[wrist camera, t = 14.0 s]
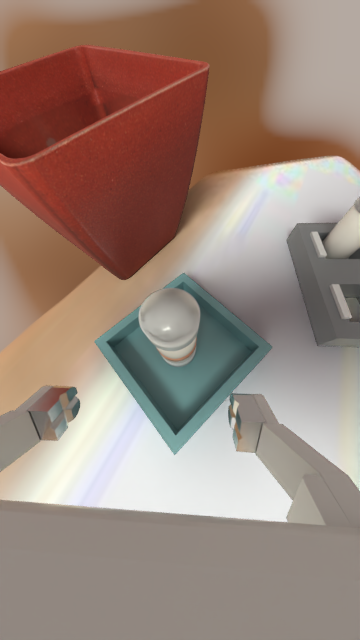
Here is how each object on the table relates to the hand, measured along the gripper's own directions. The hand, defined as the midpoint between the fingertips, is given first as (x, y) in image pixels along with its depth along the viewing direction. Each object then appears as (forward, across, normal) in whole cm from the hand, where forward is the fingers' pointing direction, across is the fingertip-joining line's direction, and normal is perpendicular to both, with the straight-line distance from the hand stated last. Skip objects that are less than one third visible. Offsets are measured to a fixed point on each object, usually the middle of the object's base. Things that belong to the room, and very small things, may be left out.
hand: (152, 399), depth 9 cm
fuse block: (+18, -22, -4) cm, 29 cm away
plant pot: (+26, +9, -10) cm, 29 cm away
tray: (+12, -1, +4) cm, 12 cm away
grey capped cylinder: (+11, -1, +4) cm, 12 cm away
